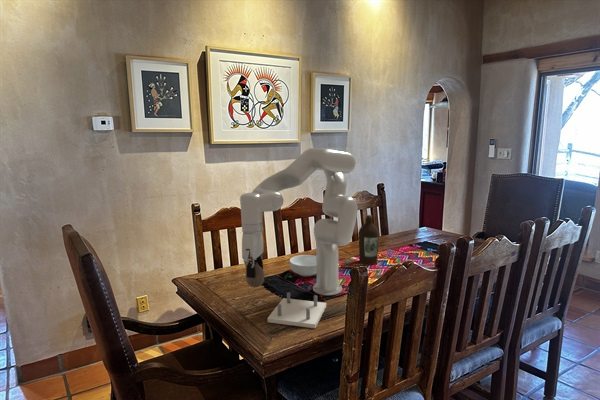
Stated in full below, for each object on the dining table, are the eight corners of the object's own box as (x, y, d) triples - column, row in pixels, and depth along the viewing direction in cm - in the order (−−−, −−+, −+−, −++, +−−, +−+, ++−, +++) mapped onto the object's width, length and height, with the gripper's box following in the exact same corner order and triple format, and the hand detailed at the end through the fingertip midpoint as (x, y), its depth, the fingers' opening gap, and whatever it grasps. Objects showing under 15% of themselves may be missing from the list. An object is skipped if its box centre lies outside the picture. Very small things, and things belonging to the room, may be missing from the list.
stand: (283, 301, 161) (282, 288, 160) (326, 306, 156) (326, 293, 155) (267, 322, 144) (267, 308, 143) (315, 328, 139) (315, 313, 138)
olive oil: (355, 259, 212) (356, 213, 207) (374, 258, 213) (375, 212, 209) (361, 265, 201) (362, 218, 197) (381, 264, 203) (382, 217, 198)
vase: (265, 281, 150) (264, 259, 149) (264, 288, 144) (263, 265, 142) (247, 281, 150) (245, 260, 149) (245, 289, 144) (243, 266, 142)
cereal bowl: (321, 281, 182) (321, 266, 181) (286, 279, 186) (285, 264, 184) (326, 268, 199) (326, 255, 197) (294, 266, 202) (293, 253, 201)
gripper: (252, 220, 152) (254, 264, 155) (232, 233, 135) (235, 281, 139) (270, 221, 150) (272, 266, 153) (252, 234, 133) (255, 283, 137)
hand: (255, 273), depth 146 cm, fingers closed on vase, 6 cm apart
